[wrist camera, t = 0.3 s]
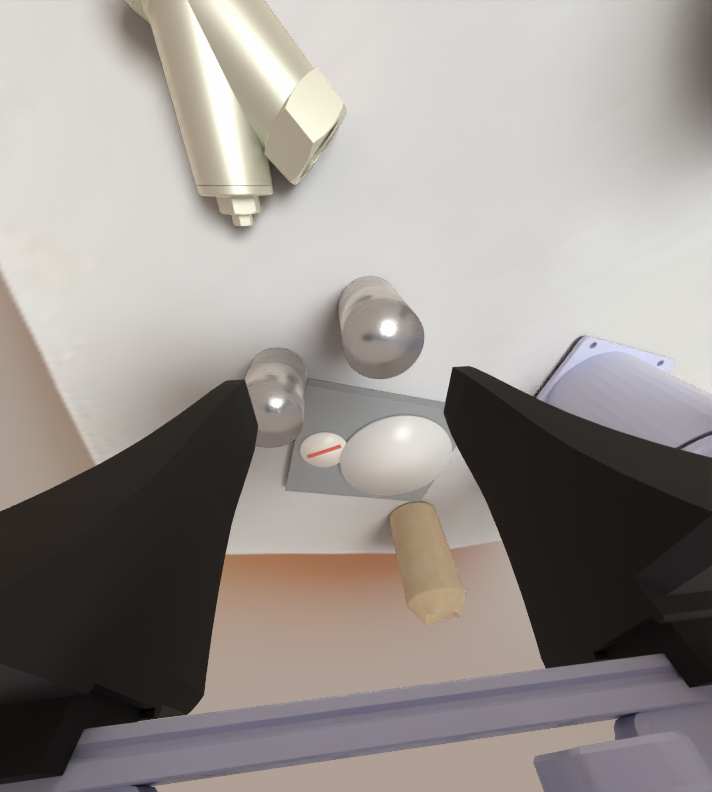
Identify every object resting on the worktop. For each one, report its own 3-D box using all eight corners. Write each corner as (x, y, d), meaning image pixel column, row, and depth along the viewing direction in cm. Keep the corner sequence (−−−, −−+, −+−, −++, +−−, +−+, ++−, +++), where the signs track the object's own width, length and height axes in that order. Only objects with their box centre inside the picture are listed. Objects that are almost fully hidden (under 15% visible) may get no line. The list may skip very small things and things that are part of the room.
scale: (470, 407, 24) (478, 417, 23) (417, 493, 30) (421, 505, 29) (307, 378, 20) (306, 388, 19) (286, 481, 27) (284, 494, 26)
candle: (398, 532, 34) (421, 635, 26) (382, 511, 31) (402, 619, 23) (440, 518, 34) (478, 620, 25) (428, 495, 30) (466, 602, 22)
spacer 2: (408, 285, 17) (437, 314, 13) (387, 342, 20) (406, 384, 15) (346, 268, 16) (355, 292, 12) (332, 330, 19) (334, 371, 14)
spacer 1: (311, 354, 19) (308, 399, 15) (302, 399, 22) (297, 451, 17) (252, 342, 19) (229, 386, 14) (249, 390, 21) (228, 443, 16)
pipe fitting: (263, 237, 16) (345, 120, 13) (244, 251, 13) (347, 102, 10) (106, 89, 12) (173, -118, 9) (25, 59, 9) (90, -265, 6)
